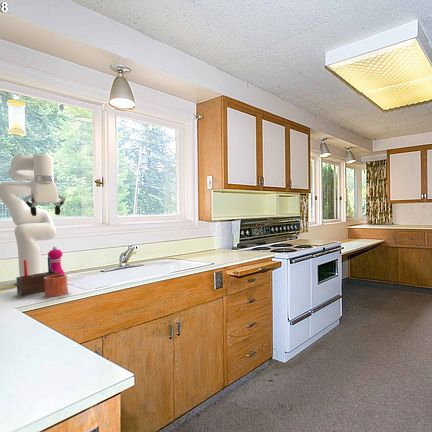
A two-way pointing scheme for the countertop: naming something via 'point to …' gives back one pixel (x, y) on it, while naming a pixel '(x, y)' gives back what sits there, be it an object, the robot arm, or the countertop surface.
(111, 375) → the countertop surface
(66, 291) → the crock
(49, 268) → the blue rounded rod
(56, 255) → the pepper mill
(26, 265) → the red toy mallet
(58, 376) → the countertop surface
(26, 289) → the caddy
